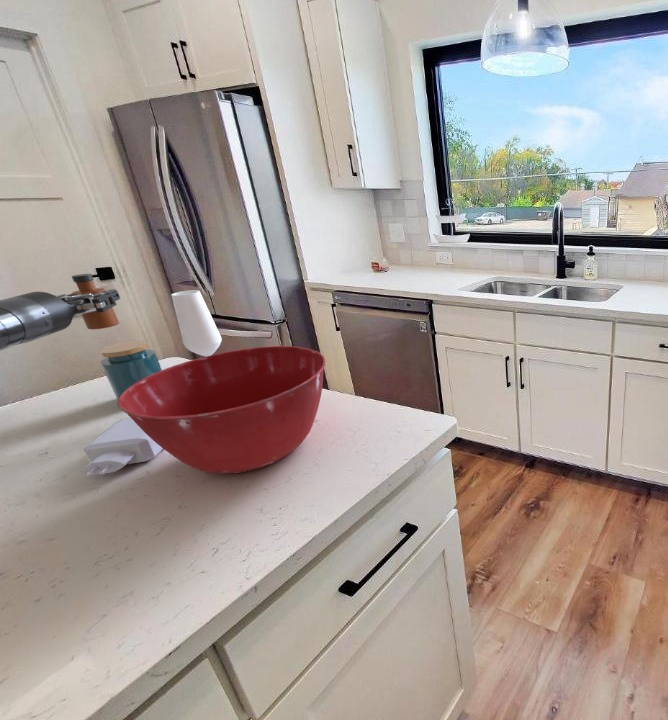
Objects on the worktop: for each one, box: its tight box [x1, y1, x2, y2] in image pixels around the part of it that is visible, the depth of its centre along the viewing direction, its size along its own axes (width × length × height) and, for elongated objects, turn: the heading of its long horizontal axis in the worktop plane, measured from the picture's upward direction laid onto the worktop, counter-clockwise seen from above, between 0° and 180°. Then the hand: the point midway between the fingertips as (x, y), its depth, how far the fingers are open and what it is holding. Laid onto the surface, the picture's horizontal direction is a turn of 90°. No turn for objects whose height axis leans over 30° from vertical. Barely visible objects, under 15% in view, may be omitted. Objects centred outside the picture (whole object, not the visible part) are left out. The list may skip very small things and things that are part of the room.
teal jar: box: [99, 340, 163, 401], centre depth 94 cm, size 9×9×12 cm
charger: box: [82, 417, 164, 477], centre depth 73 cm, size 5×9×15 cm
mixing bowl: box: [117, 345, 326, 474], centre depth 73 cm, size 28×28×16 cm
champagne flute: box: [170, 289, 222, 357], centre depth 93 cm, size 7×7×24 cm
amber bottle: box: [71, 273, 120, 330], centre depth 86 cm, size 5×5×11 cm
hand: (101, 294), depth 88 cm, fingers closed on amber bottle, 4 cm apart
